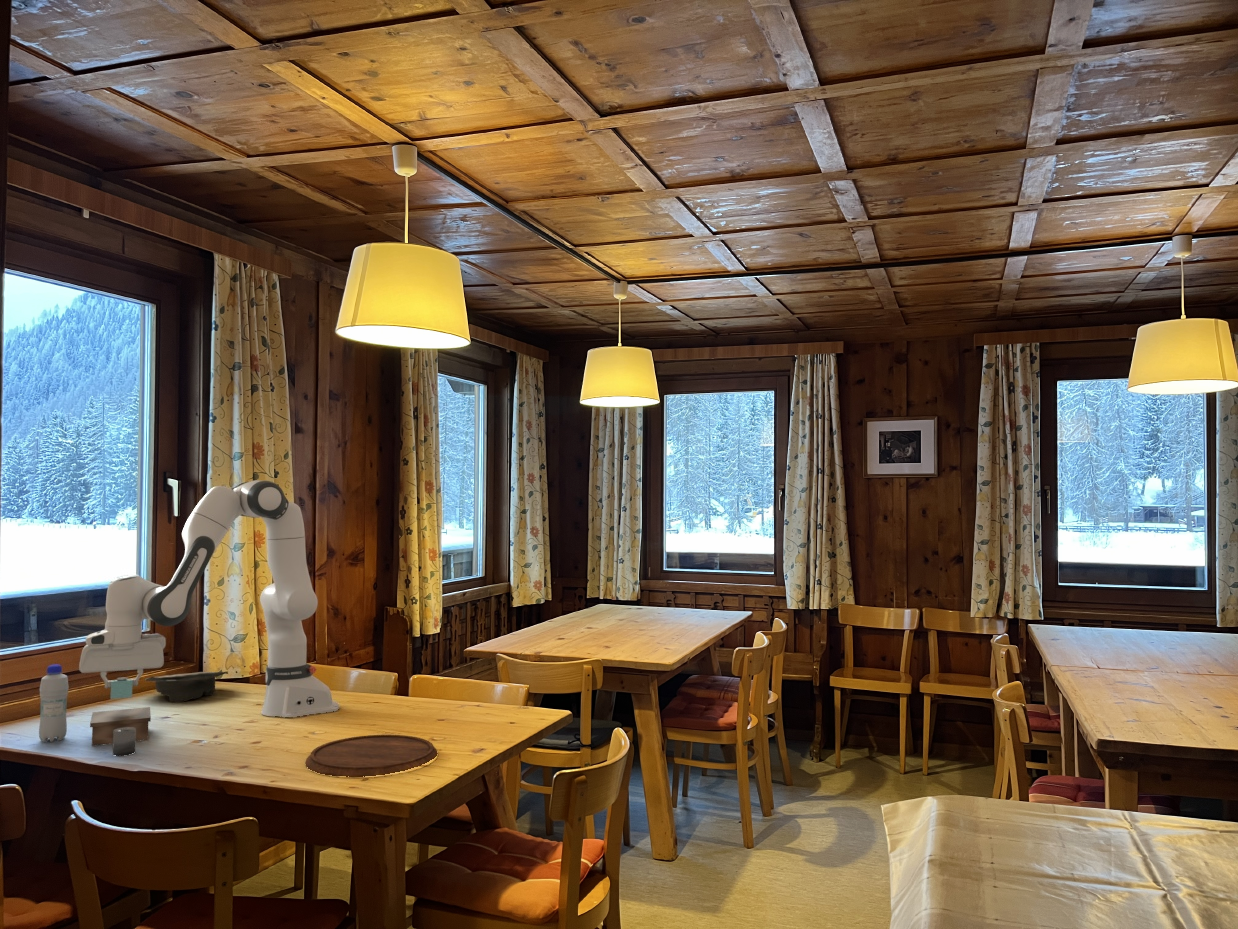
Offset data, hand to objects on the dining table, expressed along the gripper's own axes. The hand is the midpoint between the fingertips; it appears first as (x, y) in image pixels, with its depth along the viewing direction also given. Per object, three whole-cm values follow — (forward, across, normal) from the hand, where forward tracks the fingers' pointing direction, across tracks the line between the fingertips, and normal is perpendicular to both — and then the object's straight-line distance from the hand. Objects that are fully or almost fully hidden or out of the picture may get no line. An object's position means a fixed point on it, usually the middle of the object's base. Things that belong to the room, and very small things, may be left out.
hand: (121, 686), depth 246 cm
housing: (+3, 0, 0) cm, 3 cm away
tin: (+14, -1, +18) cm, 23 cm away
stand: (+14, 0, 0) cm, 14 cm away
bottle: (+14, +16, -5) cm, 22 cm away
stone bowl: (+14, -18, -49) cm, 54 cm away
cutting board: (+14, -56, +51) cm, 77 cm away
